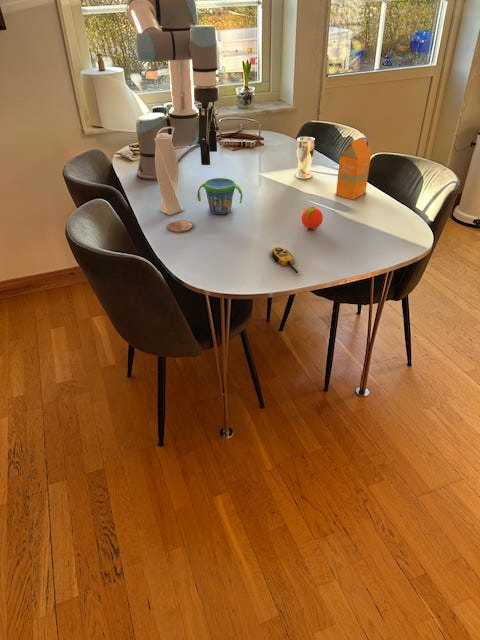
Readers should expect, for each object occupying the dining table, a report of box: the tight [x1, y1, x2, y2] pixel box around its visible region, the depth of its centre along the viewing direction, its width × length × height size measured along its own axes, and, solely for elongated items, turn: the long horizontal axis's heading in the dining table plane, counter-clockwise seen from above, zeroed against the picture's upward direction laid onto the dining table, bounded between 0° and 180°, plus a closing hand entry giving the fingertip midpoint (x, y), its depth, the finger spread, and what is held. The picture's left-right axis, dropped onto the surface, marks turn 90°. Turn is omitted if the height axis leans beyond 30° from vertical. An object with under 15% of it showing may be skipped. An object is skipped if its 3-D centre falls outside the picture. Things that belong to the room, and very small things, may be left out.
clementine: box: [300, 206, 324, 230], centre depth 153 cm, size 8×7×7 cm
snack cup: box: [197, 177, 243, 215], centre depth 165 cm, size 16×10×10 cm
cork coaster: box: [167, 220, 193, 233], centre depth 157 cm, size 8×8×1 cm
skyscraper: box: [154, 127, 183, 216], centre depth 160 cm, size 8×8×28 cm
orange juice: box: [335, 136, 372, 200], centre depth 173 cm, size 8×9×20 cm
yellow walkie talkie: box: [271, 246, 299, 274], centre depth 136 cm, size 5×2×15 cm
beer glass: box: [295, 136, 315, 180], centre depth 191 cm, size 7×7×15 cm
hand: (209, 158), depth 154 cm, fingers open, 13 cm apart
